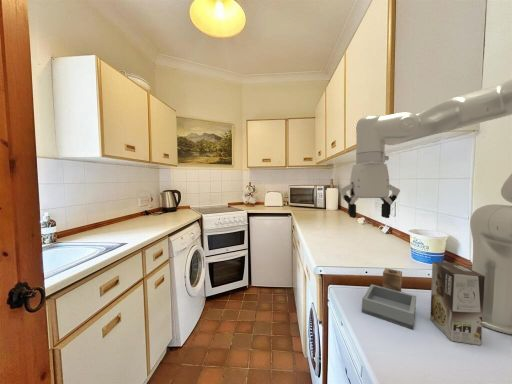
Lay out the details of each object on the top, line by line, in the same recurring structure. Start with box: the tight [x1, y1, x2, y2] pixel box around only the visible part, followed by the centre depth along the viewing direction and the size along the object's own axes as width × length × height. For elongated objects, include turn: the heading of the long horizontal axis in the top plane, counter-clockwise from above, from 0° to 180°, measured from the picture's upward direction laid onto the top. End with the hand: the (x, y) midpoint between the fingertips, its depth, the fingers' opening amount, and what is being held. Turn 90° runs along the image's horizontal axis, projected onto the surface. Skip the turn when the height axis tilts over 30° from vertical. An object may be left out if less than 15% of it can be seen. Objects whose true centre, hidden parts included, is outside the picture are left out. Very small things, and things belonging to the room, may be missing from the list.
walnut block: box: [381, 267, 403, 292], centre depth 76 cm, size 5×5×7 cm
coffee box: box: [429, 261, 485, 346], centre depth 56 cm, size 9×6×16 cm
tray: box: [361, 283, 417, 331], centre depth 65 cm, size 12×12×4 cm
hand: (368, 217), depth 67 cm, fingers open, 9 cm apart
